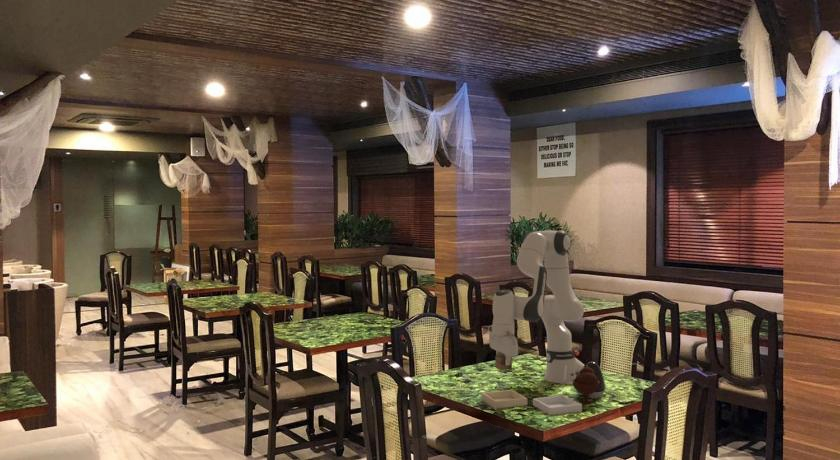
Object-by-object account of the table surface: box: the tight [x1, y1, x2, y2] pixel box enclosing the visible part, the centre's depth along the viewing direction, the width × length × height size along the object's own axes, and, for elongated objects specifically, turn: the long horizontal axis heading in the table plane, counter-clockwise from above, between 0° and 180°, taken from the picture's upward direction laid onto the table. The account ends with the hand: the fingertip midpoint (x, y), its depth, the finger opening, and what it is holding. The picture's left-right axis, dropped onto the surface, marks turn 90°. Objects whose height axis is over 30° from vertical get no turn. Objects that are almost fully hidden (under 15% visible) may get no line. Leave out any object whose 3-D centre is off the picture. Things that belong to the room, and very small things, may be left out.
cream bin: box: [481, 389, 528, 411], centre depth 279 cm, size 14×14×4 cm
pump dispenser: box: [584, 361, 606, 400], centre depth 288 cm, size 10×10×15 cm
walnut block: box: [494, 354, 513, 371], centre depth 279 cm, size 5×5×5 cm
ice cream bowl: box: [572, 367, 600, 405], centre depth 277 cm, size 11×11×15 cm
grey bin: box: [532, 395, 583, 416], centre depth 270 cm, size 14×14×4 cm
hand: (503, 363), depth 279 cm, fingers closed on walnut block, 5 cm apart
